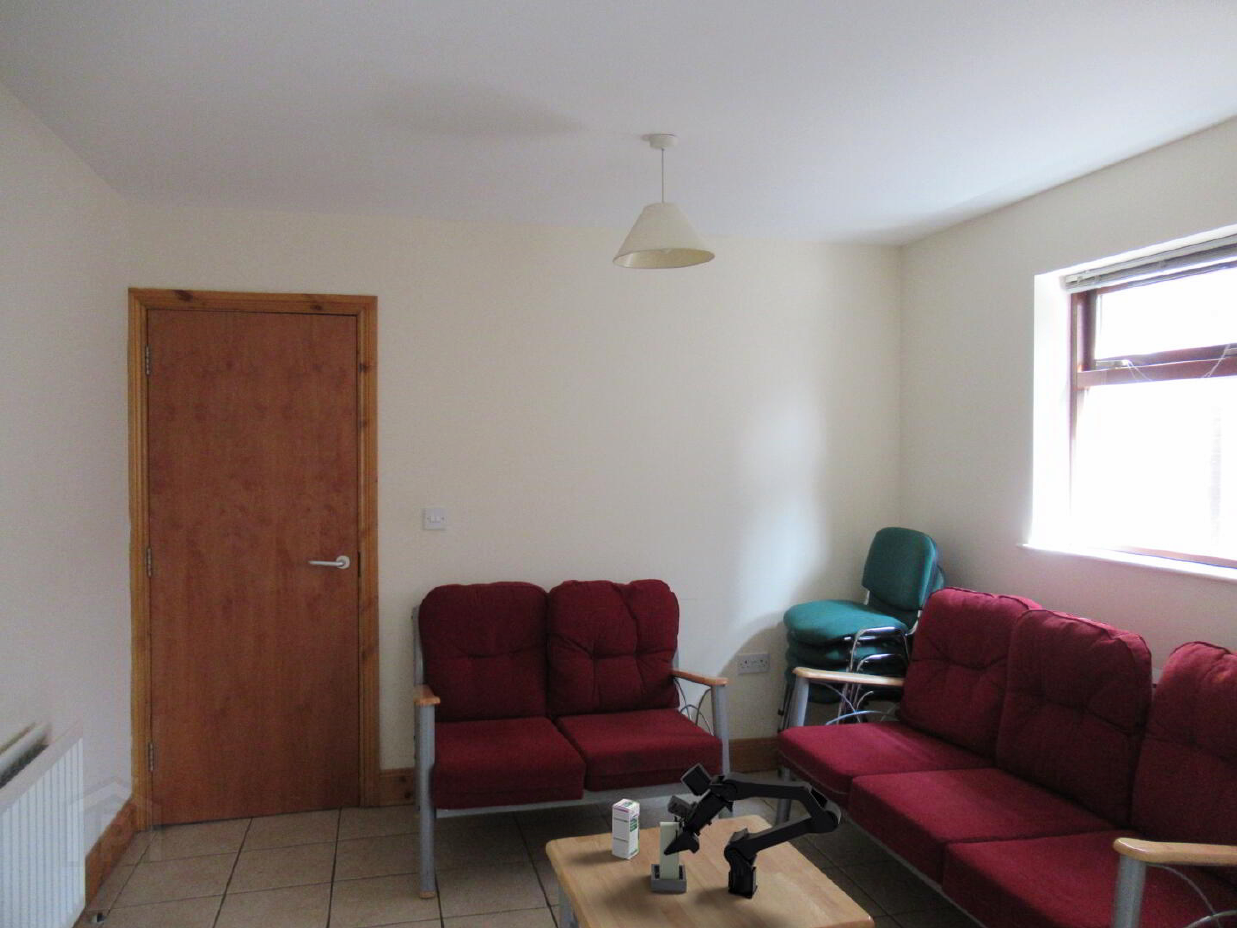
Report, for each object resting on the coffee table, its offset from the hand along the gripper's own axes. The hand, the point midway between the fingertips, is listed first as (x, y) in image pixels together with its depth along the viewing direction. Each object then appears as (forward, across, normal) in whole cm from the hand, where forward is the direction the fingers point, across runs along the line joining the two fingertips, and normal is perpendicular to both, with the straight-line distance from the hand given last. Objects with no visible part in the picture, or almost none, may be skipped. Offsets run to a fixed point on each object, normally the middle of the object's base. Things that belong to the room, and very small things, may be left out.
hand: (664, 849), depth 238 cm
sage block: (+4, 0, +6) cm, 7 cm away
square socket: (+6, 0, +7) cm, 9 cm away
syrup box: (+14, -17, -1) cm, 22 cm away
